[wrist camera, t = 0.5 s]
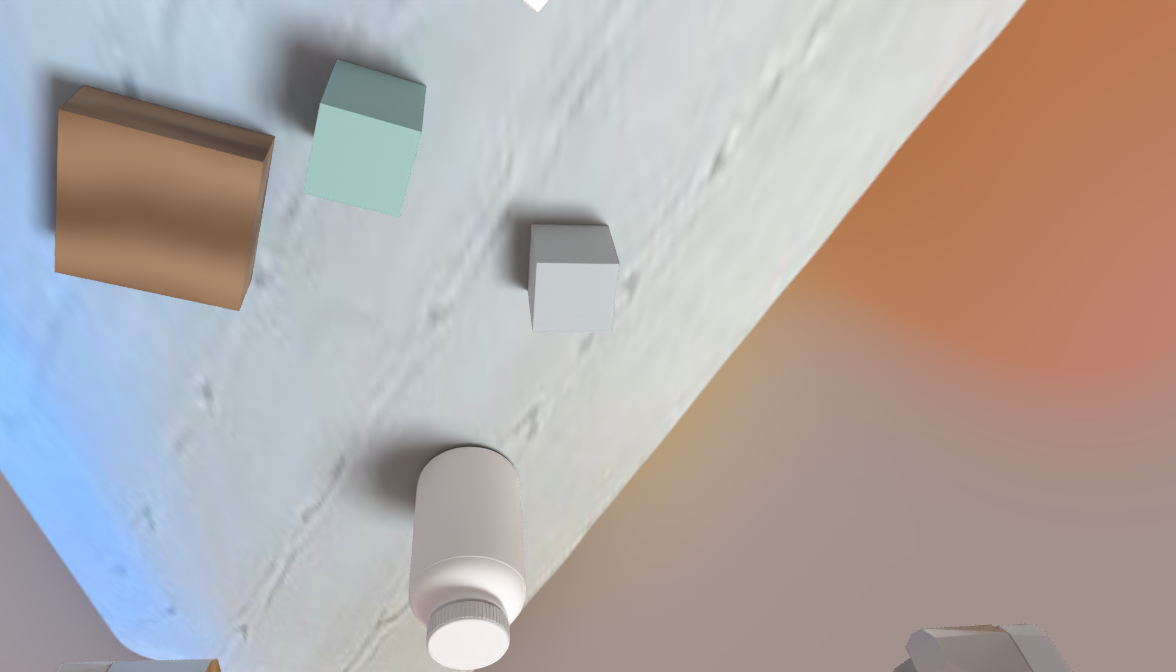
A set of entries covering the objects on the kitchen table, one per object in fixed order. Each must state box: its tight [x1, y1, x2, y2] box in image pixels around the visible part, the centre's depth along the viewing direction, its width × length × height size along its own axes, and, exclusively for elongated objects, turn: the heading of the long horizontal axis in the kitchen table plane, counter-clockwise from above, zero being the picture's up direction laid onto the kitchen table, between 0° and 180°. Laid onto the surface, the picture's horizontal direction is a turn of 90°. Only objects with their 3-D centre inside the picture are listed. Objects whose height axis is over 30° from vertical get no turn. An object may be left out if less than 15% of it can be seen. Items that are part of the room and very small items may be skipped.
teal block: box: [303, 59, 426, 217], centre depth 46 cm, size 5×5×7 cm
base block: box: [55, 86, 275, 311], centre depth 49 cm, size 10×10×4 cm
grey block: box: [528, 224, 620, 332], centre depth 54 cm, size 5×5×5 cm
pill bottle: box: [409, 447, 526, 670], centre depth 61 cm, size 8×8×15 cm
